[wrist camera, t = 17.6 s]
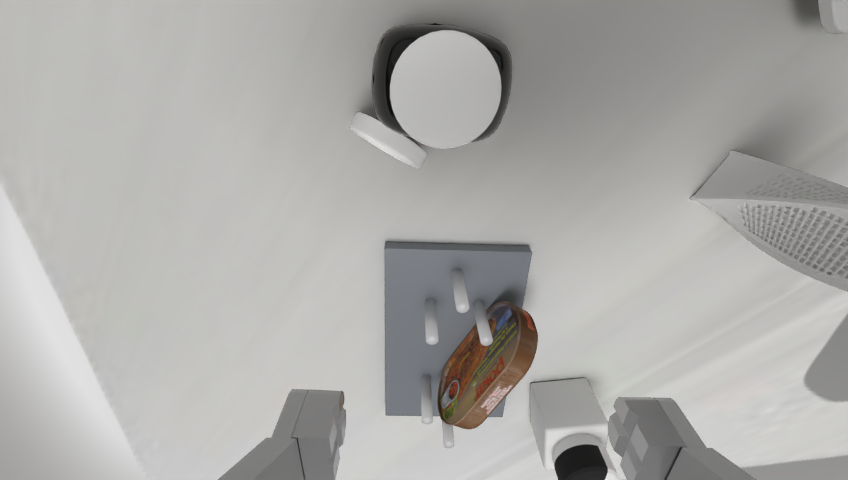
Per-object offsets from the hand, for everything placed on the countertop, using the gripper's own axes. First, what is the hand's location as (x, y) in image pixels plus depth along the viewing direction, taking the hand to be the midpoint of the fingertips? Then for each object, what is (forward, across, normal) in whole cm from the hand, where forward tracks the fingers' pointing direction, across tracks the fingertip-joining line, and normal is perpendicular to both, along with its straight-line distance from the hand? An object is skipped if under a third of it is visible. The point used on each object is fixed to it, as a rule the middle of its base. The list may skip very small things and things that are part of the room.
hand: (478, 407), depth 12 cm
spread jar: (+29, +2, -5) cm, 29 cm away
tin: (+27, -5, +21) cm, 35 cm away
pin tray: (+28, -2, +22) cm, 36 cm away
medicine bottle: (+29, -16, +32) cm, 46 cm away
